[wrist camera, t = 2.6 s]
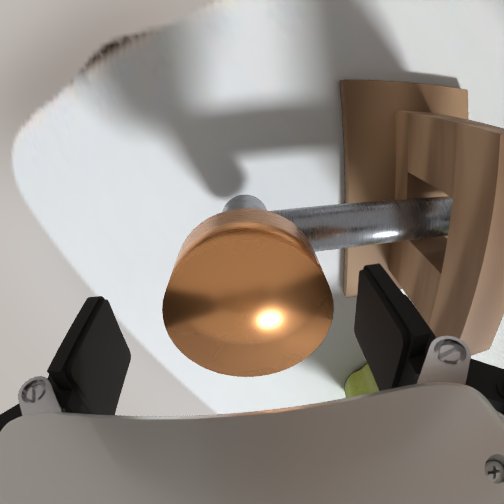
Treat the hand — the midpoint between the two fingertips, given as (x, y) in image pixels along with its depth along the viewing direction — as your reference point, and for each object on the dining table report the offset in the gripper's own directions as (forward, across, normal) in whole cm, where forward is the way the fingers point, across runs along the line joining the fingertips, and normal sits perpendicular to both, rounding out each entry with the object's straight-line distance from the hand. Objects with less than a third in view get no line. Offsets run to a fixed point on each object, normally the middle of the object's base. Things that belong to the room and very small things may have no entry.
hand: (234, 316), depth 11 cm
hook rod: (+9, -7, 0) cm, 12 cm away
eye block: (+11, -13, 0) cm, 17 cm away
